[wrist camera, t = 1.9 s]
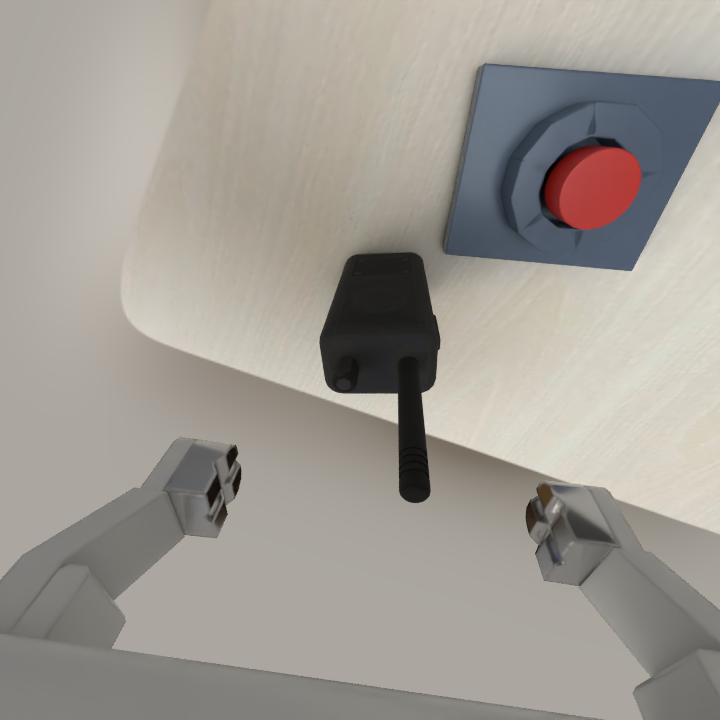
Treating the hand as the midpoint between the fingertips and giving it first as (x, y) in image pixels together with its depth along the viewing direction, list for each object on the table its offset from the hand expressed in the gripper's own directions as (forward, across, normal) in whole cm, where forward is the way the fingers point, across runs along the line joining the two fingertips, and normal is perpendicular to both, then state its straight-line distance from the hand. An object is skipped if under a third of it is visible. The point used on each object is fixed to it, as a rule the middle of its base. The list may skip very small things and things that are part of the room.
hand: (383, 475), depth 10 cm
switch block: (+14, -8, -6) cm, 17 cm away
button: (+12, -8, -6) cm, 15 cm away
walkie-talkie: (+15, 0, 0) cm, 15 cm away
